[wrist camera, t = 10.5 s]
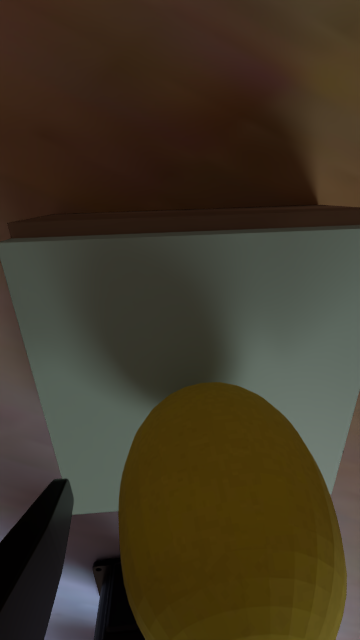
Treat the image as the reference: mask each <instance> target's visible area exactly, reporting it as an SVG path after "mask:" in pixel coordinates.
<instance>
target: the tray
mask: <svg viewBox="0 0 360 640" xmlns="http://www.w3.org/2000/svg"><path fill="white" fill-rule="evenodd" d="M7 224H8V227H9V231H10V235H11V239H12V238H38V237H64V236H89V235H115V234H141V233H166V232H192V231H218V230H243V229H269V228H295V227H320V226H346V225H360V207H344V206H329V205H300V206H272V207H244V208H217V209H189V210H161V211H133V212H106V213H78V214H52V215H47V216H42V217H37V218H31V219H26V220H21V221H16V222H10V223H7Z"/></svg>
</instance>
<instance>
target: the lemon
mask: <svg viewBox="0 0 360 640" xmlns="http://www.w3.org/2000/svg"><path fill="white" fill-rule="evenodd" d="M118 517H119V543H120V556H121V566H122V573H123V580H124V585H125V589H126V593H127V597H128V601H129V605H130V607H131V610H132V612H133V615H134V617H135V620H136V622H137V625H138V627H139V628H140V630H141V632H142V634H143V636H144V638H145V640H335V639H336V636H337V633H338V630H339V627H340V624H341V620H342V617H343V612H344V606H345V600H346V590H347V573H346V565H345V557H344V550H343V544H342V538H341V534H340V529H339V525H338V520H337V516H336V513H335V509H334V506H333V503H332V499H331V497H330V494H329V491H328V488H327V485H326V483H325V480H324V478H323V476H322V473H321V471H320V469H319V467H318V465H317V463H316V461H315V459H314V458H313V456H312V454H311V453H310V451H309V449H308V448H307V446H306V445H305V443H304V441H303V440H302V438H301V437H300V435H299V433H298V432H297V431H296V429H295V428H294V426H293V425H292V424H291V423H290V422H289V420H288V419H287V418H286V417H285V416H284V415H283V414H282V413H281V412H280V411H279V410H277V409H276V408H275V407H274V406H273V405H271V404H270V403H269V402H268V401H266V400H265V399H264V398H263V397H261V396H259V395H258V394H256V393H254V392H251V391H249V390H247V389H245V388H242V387H240V386H237V385H233V384H227V383H222V382H208V383H199V384H195V385H191V386H187V387H184V388H182V389H180V390H178V391H176V392H174V393H172V394H170V395H169V396H167V397H166V398H165V399H164V400H162V401H161V402H160V403H159V404H158V405H156V406H155V407H154V408H153V409H152V410H151V412H150V413H149V415H148V416H147V417H146V419H145V420H144V422H143V423H142V424H141V426H140V427H139V429H138V431H137V432H136V434H135V436H134V439H133V442H132V445H131V447H130V450H129V453H128V456H127V459H126V462H125V465H124V469H123V473H122V478H121V484H120V492H119V510H118Z"/></svg>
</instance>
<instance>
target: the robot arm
mask: <svg viewBox="0 0 360 640" xmlns="http://www.w3.org/2000/svg"><path fill="white" fill-rule="evenodd" d="M73 505H74V497H73V493H72V489H71V485H70V482H69V480H68V479H67V478H64V479H55V480H53V481H52V482H51V483H50V484H49V485H48V486H47V488H46V489H45V490H44V491H43V492H42V494H41V495H40V496H39V497H38V498H37V499H36V501H35V502H34V503H33V504H32V505H31V507H30V508H29V509H28V510H27V511H26V513H25V514H24V515H23V516H22V517H21V518H20V520H19V521H18V522H17V523H16V524H15V526H14V527H13V528H12V529H11V530H10V532H9V533H8V534H7V535H6V536H5V537H4V539H3V540H2V541H1V542H0V640H44V637H45V634H46V630H47V626H48V622H49V619H50V615H51V611H52V607H53V604H54V600H55V596H56V592H57V589H58V585H59V581H60V577H61V573H62V569H63V564H64V559H65V553H66V547H67V541H68V535H69V529H70V523H71V517H72V511H73ZM93 573H94V577H95V581H96V584H97V588H98V592H99V595H100V600H99V606H98V613H97V620H96V627H95V634H94V640H145V638H144V636H143V634H142V632H141V630H140V628H139V627H138V625H137V622H136V620H135V617H134V615H133V612H132V610H131V607H130V605H129V601H128V597H127V593H126V589H125V585H124V580H123V573H122V566H121V559H112V560H102V561H96V562H95V563H94V565H93Z"/></svg>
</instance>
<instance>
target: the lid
mask: <svg viewBox="0 0 360 640" xmlns="http://www.w3.org/2000/svg"><path fill="white" fill-rule="evenodd" d="M0 260H1V263H2V267H3V270H4V274H5V277H6V281H7V285H8V288H9V292H10V295H11V299H12V302H13V306H14V309H15V313H16V317H17V320H18V324H19V327H20V331H21V334H22V338H23V341H24V345H25V349H26V352H27V356H28V359H29V363H30V366H31V370H32V373H33V377H34V381H35V384H36V388H37V391H38V395H39V398H40V402H41V405H42V409H43V413H44V416H45V420H46V423H47V427H48V430H49V434H50V438H51V441H52V445H53V448H54V452H55V455H56V459H57V462H58V466H59V470H60V473H61V477H62V479H64V478H67V479H68V480H69V482H70V485H71V489H72V493H73V497H74V505H73V511H72V515H77V514H89V513H102V512H114V511H118V510H119V492H120V484H121V478H122V473H123V469H124V465H125V462H126V459H127V456H128V453H129V450H130V447H131V445H132V442H133V439H134V436H135V434H136V432H137V431H138V429H139V427H140V426H141V424H142V423H143V422H144V420H145V419H146V417H147V416H148V415H149V413H150V412H151V410H152V409H153V408H154V407H155V406H156V405H158V404H159V403H160V402H161V401H162V400H164V399H165V398H166V397H167V396H169V395H170V394H172V393H174V392H176V391H178V390H180V389H182V388H184V387H187V386H191V385H195V384H199V383H208V382H222V383H227V384H233V385H237V386H240V387H242V388H245V389H247V390H249V391H251V392H254V393H256V394H258V395H259V396H261V397H263V398H264V399H265V400H266V401H268V402H269V403H270V404H271V405H273V406H274V407H275V408H276V409H277V410H279V411H280V412H281V413H282V414H283V415H284V416H285V417H286V418H287V419H288V420H289V422H290V423H291V424H292V425H293V426H294V428H295V429H296V431H297V432H298V433H299V435H300V437H301V438H302V440H303V441H304V443H305V445H306V446H307V448H308V449H309V451H310V453H311V454H312V456H313V458H314V459H315V461H316V463H317V465H318V467H319V469H320V471H321V473H322V476H323V478H324V480H325V483H326V485H327V488H328V491H329V494H332V490H333V486H334V483H335V479H336V475H337V471H338V468H339V464H340V460H341V457H342V453H343V449H344V445H345V442H346V438H347V434H348V431H349V427H350V423H351V419H352V416H353V412H354V408H355V405H356V401H357V397H358V393H359V390H360V225H346V226H320V227H295V228H269V229H243V230H218V231H192V232H166V233H141V234H115V235H89V236H64V237H38V238H12V239H8V240H5V241H1V242H0Z"/></svg>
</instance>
